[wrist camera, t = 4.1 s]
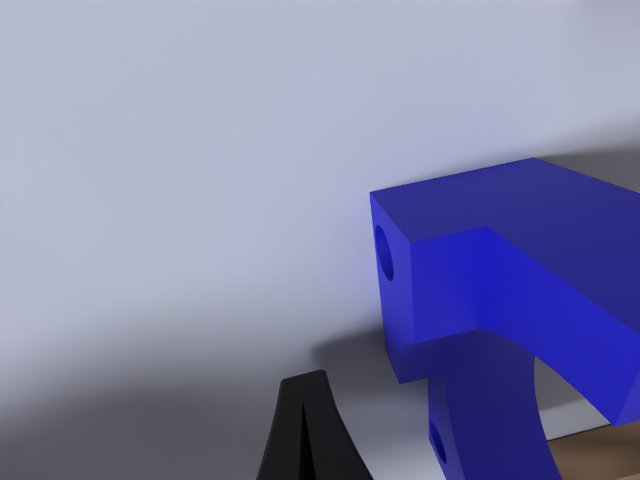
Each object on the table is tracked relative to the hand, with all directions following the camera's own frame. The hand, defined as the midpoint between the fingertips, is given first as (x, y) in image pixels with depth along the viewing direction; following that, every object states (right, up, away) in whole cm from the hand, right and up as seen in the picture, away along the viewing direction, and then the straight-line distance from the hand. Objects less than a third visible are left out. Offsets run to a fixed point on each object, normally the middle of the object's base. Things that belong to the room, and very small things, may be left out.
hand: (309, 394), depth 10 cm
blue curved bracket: (+5, +2, +1) cm, 5 cm away
